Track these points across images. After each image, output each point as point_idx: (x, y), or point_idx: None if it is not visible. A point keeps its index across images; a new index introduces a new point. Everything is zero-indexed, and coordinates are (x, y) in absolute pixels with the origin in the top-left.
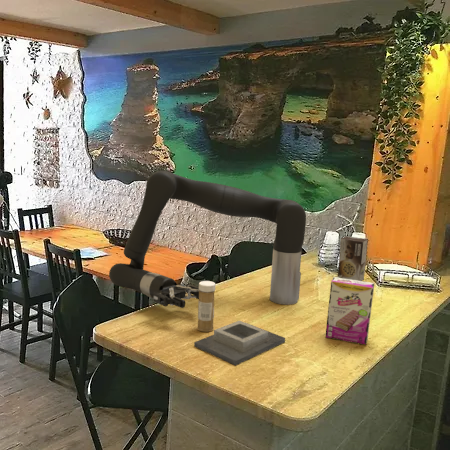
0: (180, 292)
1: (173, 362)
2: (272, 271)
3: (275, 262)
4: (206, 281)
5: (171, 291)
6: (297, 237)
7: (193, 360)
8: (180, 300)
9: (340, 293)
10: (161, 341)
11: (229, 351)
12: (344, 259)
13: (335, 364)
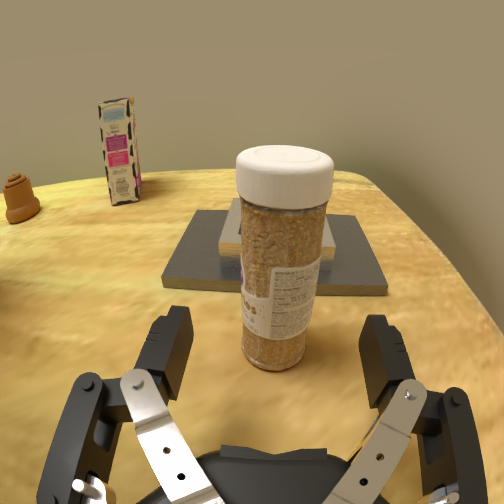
0: (271, 456)
1: (452, 277)
2: None
3: None
4: (267, 158)
5: (378, 461)
6: None
7: (414, 263)
8: (387, 332)
9: (132, 115)
10: (452, 359)
11: (341, 231)
12: None
13: (225, 179)
